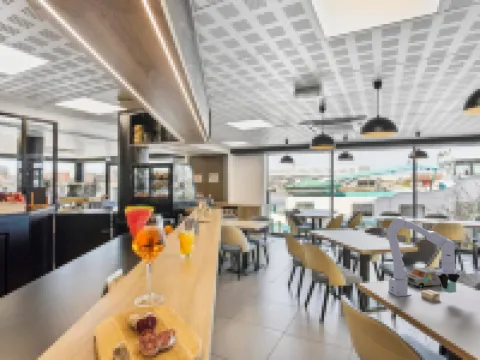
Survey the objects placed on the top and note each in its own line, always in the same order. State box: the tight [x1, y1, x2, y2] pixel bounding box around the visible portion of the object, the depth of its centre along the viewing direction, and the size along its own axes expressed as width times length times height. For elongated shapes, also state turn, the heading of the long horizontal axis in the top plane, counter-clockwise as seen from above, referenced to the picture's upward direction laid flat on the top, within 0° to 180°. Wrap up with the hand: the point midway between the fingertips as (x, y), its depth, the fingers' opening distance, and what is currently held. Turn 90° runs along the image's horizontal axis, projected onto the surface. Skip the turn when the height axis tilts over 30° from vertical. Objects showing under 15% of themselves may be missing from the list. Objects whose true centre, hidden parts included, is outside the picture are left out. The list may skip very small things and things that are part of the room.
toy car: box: [406, 266, 449, 289], centre depth 181 cm, size 11×25×10 cm, turn 101°
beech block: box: [420, 289, 441, 303], centre depth 158 cm, size 6×6×4 cm
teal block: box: [440, 280, 457, 294], centre depth 153 cm, size 4×4×5 cm
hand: (448, 287), depth 153 cm, fingers closed on teal block, 4 cm apart
